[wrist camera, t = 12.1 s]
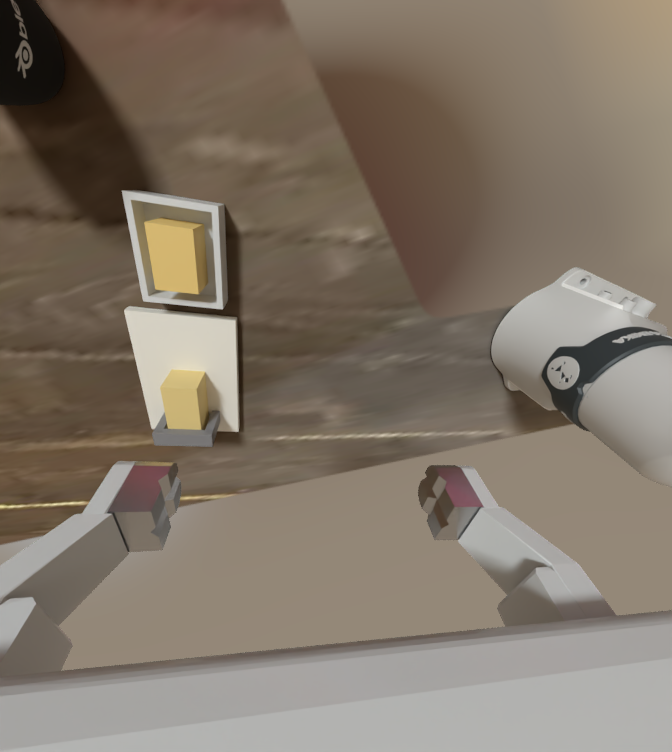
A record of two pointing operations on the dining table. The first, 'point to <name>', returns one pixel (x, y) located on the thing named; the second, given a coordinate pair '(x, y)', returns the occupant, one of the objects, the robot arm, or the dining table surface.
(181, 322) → the board
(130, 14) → the dining table surface
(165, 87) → the dining table surface
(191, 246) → the stub
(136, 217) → the stub tray
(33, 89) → the mug
